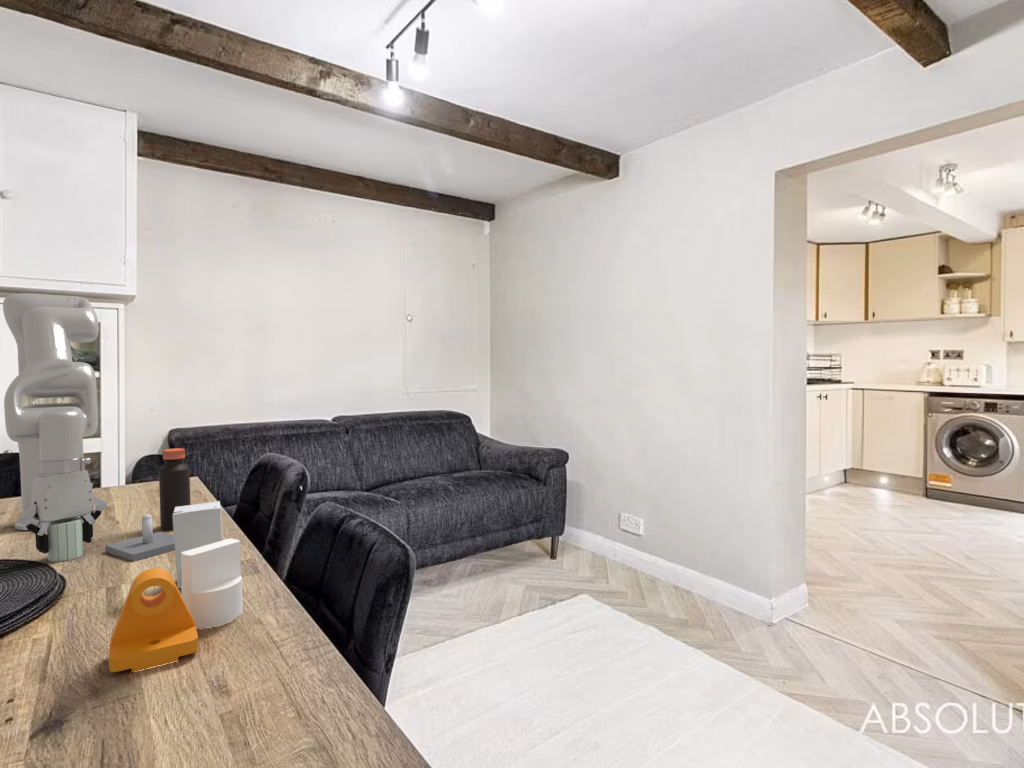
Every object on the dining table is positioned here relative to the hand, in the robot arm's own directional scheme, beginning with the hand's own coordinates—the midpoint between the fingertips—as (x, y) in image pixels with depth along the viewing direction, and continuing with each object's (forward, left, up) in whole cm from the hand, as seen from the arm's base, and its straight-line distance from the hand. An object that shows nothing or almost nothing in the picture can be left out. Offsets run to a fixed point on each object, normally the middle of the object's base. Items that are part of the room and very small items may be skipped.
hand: (65, 546), depth 127 cm
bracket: (+61, -13, -3) cm, 62 cm away
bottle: (-2, +25, -3) cm, 25 cm away
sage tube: (0, 0, -2) cm, 2 cm away
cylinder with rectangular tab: (+56, -1, -3) cm, 56 cm away
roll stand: (+10, +12, -2) cm, 16 cm away
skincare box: (+39, +7, -3) cm, 40 cm away
